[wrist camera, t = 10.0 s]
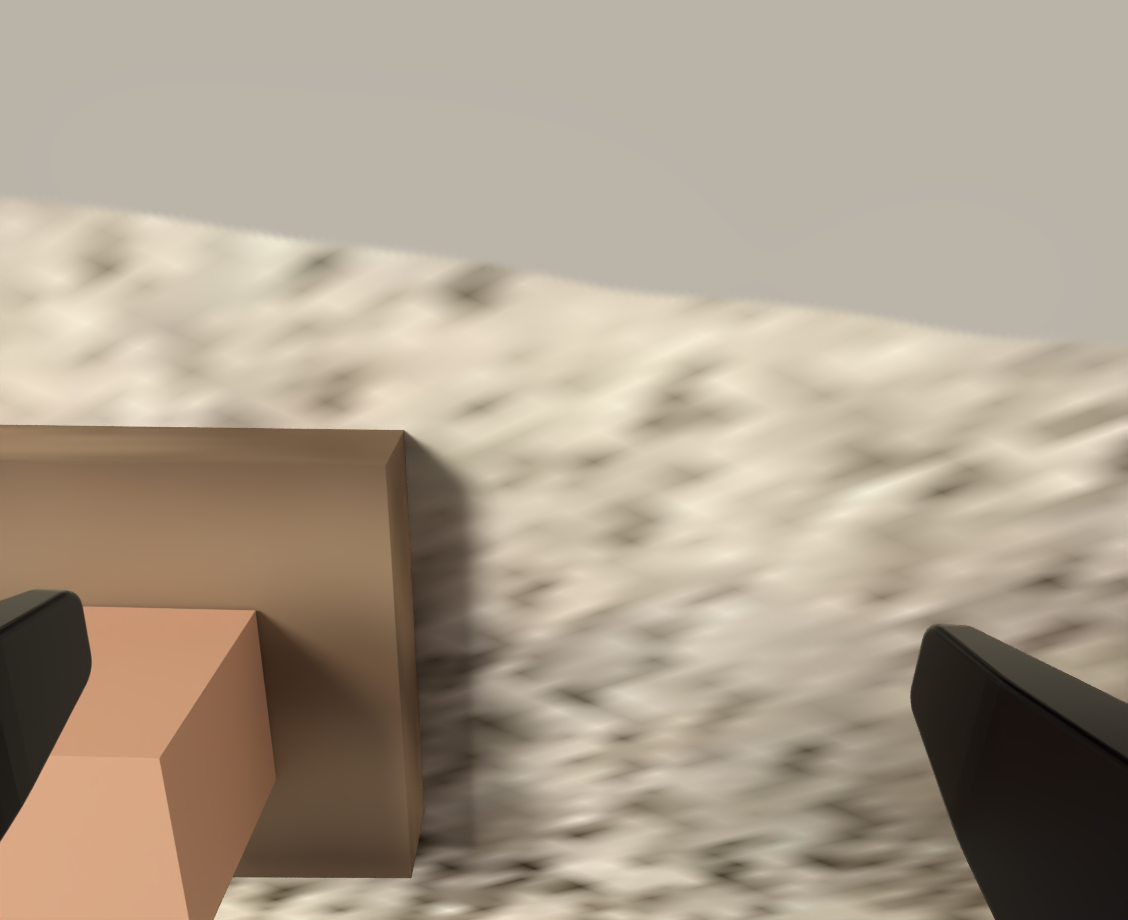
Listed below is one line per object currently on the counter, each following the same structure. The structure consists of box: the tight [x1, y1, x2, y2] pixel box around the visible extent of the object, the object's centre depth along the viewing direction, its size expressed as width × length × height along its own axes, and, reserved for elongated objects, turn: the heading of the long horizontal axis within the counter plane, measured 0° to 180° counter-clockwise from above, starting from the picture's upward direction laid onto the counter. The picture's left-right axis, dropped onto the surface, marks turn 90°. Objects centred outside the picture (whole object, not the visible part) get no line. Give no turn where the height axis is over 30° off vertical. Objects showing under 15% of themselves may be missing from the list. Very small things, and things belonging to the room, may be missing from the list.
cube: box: [0, 606, 276, 920], centre depth 18 cm, size 5×5×5 cm
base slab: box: [0, 425, 424, 878], centre depth 22 cm, size 12×12×3 cm
